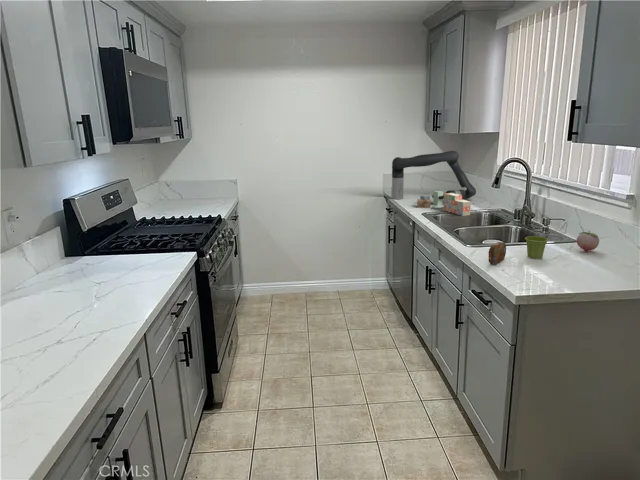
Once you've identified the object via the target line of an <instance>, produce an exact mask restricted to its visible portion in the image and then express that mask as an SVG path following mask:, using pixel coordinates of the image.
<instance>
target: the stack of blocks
mask: <svg viewBox="0 0 640 480" xmlns="http://www.w3.org/2000/svg"><path fill="white" fill-rule="evenodd" d="M444 193H445V194H444V199H443V206H442V207H443V209H442V210H443V211H444V212H447V211H448V213H450V212H452V213H451V214H455V215H458V216H462V217H463V216H471V204H472V201H470V200H468V199H462V195H459V194H454V193H446V192H444Z"/></svg>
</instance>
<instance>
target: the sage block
mask: <svg viewBox="0 0 640 480" xmlns="http://www.w3.org/2000/svg"><path fill="white" fill-rule="evenodd" d="M443 193H444V191H442V190H435V191H433V194H432V195H433V198H432V199H433V200H432V204H433V206H438V207H440V206H444V199H439V196H443Z"/></svg>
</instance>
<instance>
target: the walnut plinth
mask: <svg viewBox="0 0 640 480" xmlns="http://www.w3.org/2000/svg"><path fill="white" fill-rule="evenodd" d="M416 201H417V203H416V207H417V209H431V202H432V201H431V198H430V199H420V198H419V199H417V200H416Z"/></svg>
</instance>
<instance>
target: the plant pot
mask: <svg viewBox="0 0 640 480" xmlns="http://www.w3.org/2000/svg"><path fill="white" fill-rule="evenodd" d="M524 239H525V243H526V251H527V252H526V253H527V257H528V258H530V259H538V260H539V259H540V260H541V259H543V256H544V252H545V248H546V245H547V243H548V241H549V239H548V238H546V237H543V236H536V235H535V236H532V235H531V236H526V237H525V238H524Z"/></svg>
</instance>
